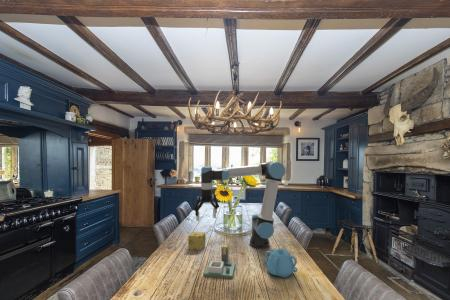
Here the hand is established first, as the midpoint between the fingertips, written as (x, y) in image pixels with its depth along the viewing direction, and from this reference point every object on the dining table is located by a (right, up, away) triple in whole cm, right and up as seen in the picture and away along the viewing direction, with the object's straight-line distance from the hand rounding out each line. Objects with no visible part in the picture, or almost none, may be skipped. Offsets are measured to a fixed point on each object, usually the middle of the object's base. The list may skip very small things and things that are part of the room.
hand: (206, 219), depth 171 cm
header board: (+10, -23, -26) cm, 36 cm away
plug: (+13, -23, -14) cm, 30 cm away
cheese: (-8, -24, +9) cm, 27 cm away
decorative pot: (+45, -23, -29) cm, 59 cm away
